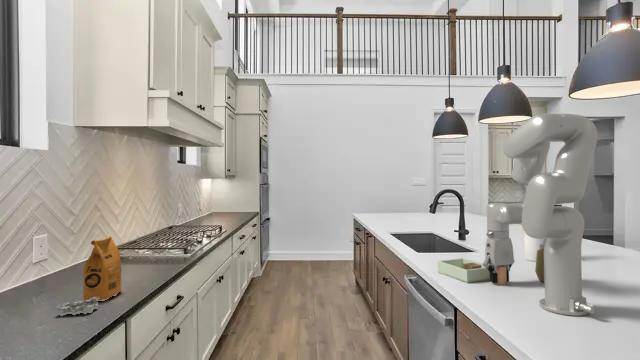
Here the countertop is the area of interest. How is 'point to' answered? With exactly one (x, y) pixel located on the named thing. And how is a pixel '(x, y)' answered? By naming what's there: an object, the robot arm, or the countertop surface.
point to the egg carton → (75, 306)
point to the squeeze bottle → (540, 262)
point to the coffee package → (102, 270)
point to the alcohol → (531, 247)
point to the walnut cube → (471, 266)
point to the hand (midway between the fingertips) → (499, 281)
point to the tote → (463, 270)
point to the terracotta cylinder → (501, 275)
